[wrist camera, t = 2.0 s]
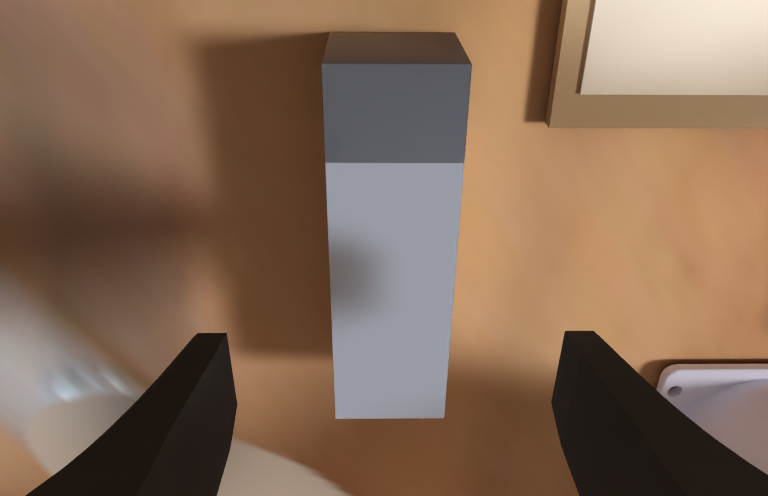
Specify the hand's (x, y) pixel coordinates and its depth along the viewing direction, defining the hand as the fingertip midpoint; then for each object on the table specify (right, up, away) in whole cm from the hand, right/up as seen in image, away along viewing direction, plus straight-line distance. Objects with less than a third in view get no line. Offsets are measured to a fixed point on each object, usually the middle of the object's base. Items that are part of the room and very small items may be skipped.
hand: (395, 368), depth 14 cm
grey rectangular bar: (0, +4, +6) cm, 7 cm away
